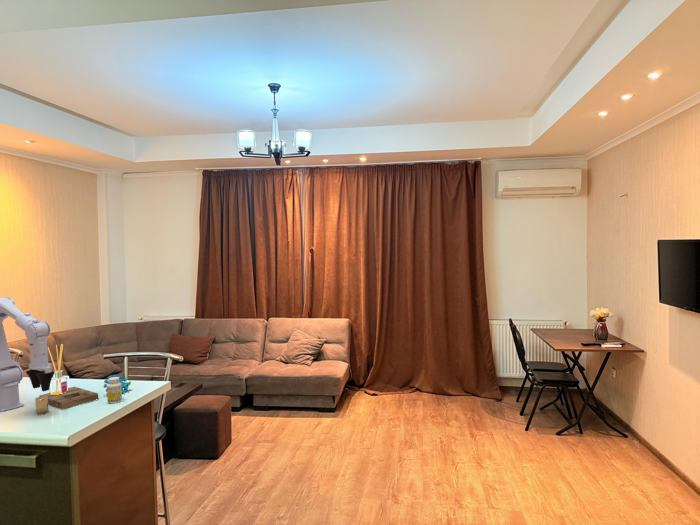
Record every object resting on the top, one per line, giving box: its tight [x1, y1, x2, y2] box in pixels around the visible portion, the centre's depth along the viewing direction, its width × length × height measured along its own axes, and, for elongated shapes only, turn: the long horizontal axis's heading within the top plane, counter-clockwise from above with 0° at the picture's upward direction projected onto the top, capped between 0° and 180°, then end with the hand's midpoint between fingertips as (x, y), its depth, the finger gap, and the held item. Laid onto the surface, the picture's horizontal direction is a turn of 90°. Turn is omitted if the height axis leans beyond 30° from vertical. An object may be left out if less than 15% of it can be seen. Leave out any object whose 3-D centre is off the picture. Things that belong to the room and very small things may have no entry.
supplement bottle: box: [106, 376, 123, 404], centre depth 195 cm, size 5×5×10 cm
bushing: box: [34, 396, 49, 416], centre depth 184 cm, size 4×4×6 cm
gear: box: [103, 374, 132, 395], centre depth 208 cm, size 11×6×10 cm
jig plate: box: [38, 386, 99, 410], centre depth 199 cm, size 20×14×2 cm
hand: (41, 389), depth 184 cm, fingers open, 7 cm apart
